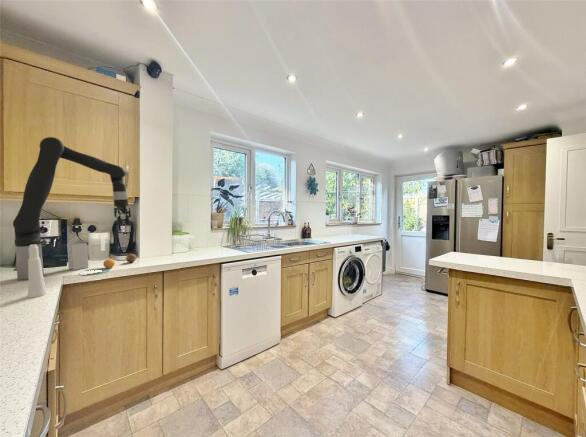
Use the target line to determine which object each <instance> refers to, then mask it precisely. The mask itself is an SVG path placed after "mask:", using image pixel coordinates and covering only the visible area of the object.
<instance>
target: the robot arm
mask: <svg viewBox="0 0 586 437" xmlns="http://www.w3.org/2000/svg"><path fill="white" fill-rule="evenodd" d="M38 152H39V153H38V156H37V160H36V163H35V164H34V166H33V168H32V169H31V171H30V173H29V175H28V178H27V181H26V183H25V187H24V191H23V196H22V202H21V206H20V208H19V210H18V212H17V215H16V216H15V218H14V220H13V222H12V226H13V228H14V229H13V230H14V239H15V240H14V244H15V255H16V262H15V266H16V275H17V276H16V277H17V281H25V280H29V275H28V259H30V257H29V247H30V246H29V245H35V244H36V245H37V247H38V253H39V258H40V259H41V265H42V272H43V276H44V274H45V273H44V262H43V251H42V250H43V248H42V236H41V224H40V218H41V214H42V213H41V212H42V209H43V207H44V205H45V203H46V201H47V199H48V197H49V194H50V192H51V189H52V188H53V185H54V184H53V182H54V179H55V174H56V169H57V164H58V162H59V160H60V159H64V160H67V161H70V162H73V163H76V164H79V165H80V166H84V167H86V168H88V169H90V170H91V169H92V170H94V171H96V172H99V173H104V174H107V175H109V176H110V181H111V184H112V185H111V186H112V197H113V206H114V208H113V215H114V218H116V221H117V224H118V225H120V224H122V223H123V222H122V221H123V220H122V217H123V218H124V224H125V225H130V218H131V217H132V213H131V208H130V207H128V206H129V198H128V193H127V186H126V183H125V181H124V177H125V176H126V174H127V173H126V170H125V169H124V168H123V167H121V166H119V165H117V164H113V163H110V162H107V161H105V160H102V159H100V158H97V157H95V156H92V155H88V154H86V153H82V152H79V151H77V150H74V149H72V148H69V147H67V146H65V145H64V143H63V142H62V141H61V140H60V139H58V138H56V137H53V136H49V137H44V138H43V139H41V141H40V143H39V151H38Z"/></svg>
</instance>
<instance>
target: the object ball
mask: <svg viewBox="0 0 586 437" xmlns="http://www.w3.org/2000/svg"><path fill="white" fill-rule="evenodd" d="M102 263H103V264H102V265H103V266H104V267H103V268H110V269H111V268H113V267H114V266H115V265H116V262H115V260H114V259H112V258H107V259H105V260H104V261H103V262H102Z"/></svg>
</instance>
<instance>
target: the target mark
mask: <svg viewBox="0 0 586 437" xmlns="http://www.w3.org/2000/svg"><path fill="white" fill-rule="evenodd" d="M89 270H90V271H91V270H94V271H95V270H102V272H97V273H93V274H87V275H82V276H85V277H86V276H87V277H88V276H95V275H101V274H104V273H105V274H106V273H108V272H109V271H111V268H106V267H98V268H97V267H96V268H91V269H86V270H84V271H89Z"/></svg>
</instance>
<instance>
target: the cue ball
mask: <svg viewBox="0 0 586 437" xmlns="http://www.w3.org/2000/svg"><path fill="white" fill-rule="evenodd" d="M136 259H137V256H136V254H135V253H134V254H133V253H129V254H127V255H126V257H125V260H126V262H128V263H134V262H135V261H136Z"/></svg>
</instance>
